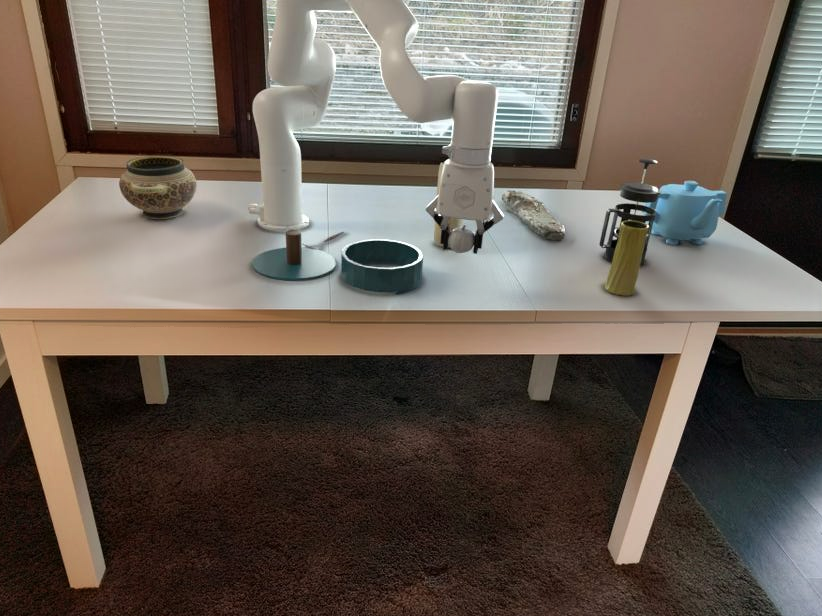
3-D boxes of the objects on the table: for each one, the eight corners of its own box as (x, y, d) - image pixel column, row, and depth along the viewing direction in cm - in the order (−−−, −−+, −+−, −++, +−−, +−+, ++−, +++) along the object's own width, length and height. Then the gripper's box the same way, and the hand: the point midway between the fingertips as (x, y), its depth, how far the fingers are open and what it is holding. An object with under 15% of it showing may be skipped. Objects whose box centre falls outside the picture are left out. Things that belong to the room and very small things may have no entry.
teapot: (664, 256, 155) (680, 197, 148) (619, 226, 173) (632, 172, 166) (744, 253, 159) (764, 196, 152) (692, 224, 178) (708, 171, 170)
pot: (331, 288, 129) (331, 262, 127) (353, 259, 143) (353, 235, 141) (412, 299, 127) (414, 273, 124) (427, 268, 141) (429, 244, 138)
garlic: (459, 243, 131) (461, 218, 128) (480, 251, 128) (483, 225, 125) (440, 250, 127) (442, 224, 125) (461, 258, 124) (464, 232, 121)
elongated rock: (535, 246, 160) (572, 248, 162) (540, 226, 157) (578, 228, 159) (492, 197, 188) (524, 199, 190) (496, 179, 185) (528, 181, 188)
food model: (461, 252, 151) (470, 165, 140) (432, 250, 151) (439, 163, 140) (459, 238, 159) (468, 154, 149) (432, 236, 159) (439, 152, 149)
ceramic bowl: (152, 208, 175) (130, 152, 168) (215, 194, 174) (195, 138, 166) (121, 240, 154) (93, 178, 146) (192, 225, 153) (168, 161, 145)
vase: (600, 284, 138) (614, 219, 131) (627, 284, 139) (643, 219, 132) (610, 296, 133) (626, 229, 126) (639, 296, 134) (656, 229, 126)
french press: (638, 252, 156) (662, 155, 145) (654, 267, 148) (681, 165, 137) (590, 251, 155) (611, 153, 144) (604, 266, 147) (627, 163, 136)
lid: (238, 277, 132) (235, 241, 128) (271, 247, 147) (269, 215, 143) (321, 288, 129) (320, 252, 125) (345, 257, 144) (346, 224, 140)
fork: (349, 235, 157) (349, 227, 156) (311, 254, 145) (311, 246, 144) (340, 232, 158) (340, 224, 157) (301, 252, 146) (301, 243, 145)
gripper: (420, 155, 116) (414, 250, 126) (516, 164, 114) (502, 261, 123) (427, 146, 123) (421, 238, 132) (518, 155, 120) (505, 248, 129)
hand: (460, 248), depth 127 cm, fingers closed on garlic, 5 cm apart
